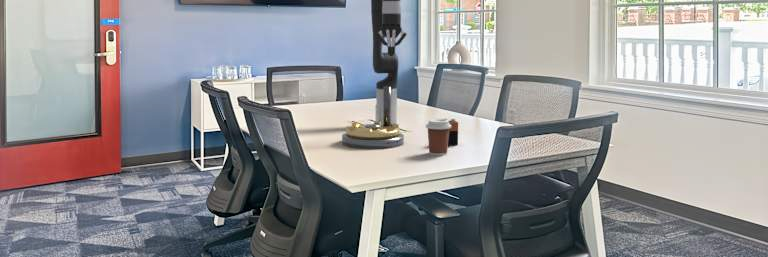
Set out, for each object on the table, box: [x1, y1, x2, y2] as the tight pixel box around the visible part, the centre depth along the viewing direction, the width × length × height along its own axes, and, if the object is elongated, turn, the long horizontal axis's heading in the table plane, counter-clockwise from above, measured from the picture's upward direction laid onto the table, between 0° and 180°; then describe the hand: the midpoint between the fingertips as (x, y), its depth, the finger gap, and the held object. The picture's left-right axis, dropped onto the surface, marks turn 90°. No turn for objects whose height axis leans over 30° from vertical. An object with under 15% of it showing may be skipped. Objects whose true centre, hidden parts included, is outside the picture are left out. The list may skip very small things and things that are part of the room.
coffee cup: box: [425, 118, 451, 156], centre depth 229 cm, size 9×9×12 cm
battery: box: [443, 118, 459, 146], centre depth 246 cm, size 4×7×10 cm, turn 97°
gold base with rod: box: [345, 87, 401, 139], centre depth 248 cm, size 21×21×18 cm
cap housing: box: [341, 132, 405, 150], centre depth 250 cm, size 24×24×3 cm
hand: (391, 56), depth 261 cm, fingers closed
